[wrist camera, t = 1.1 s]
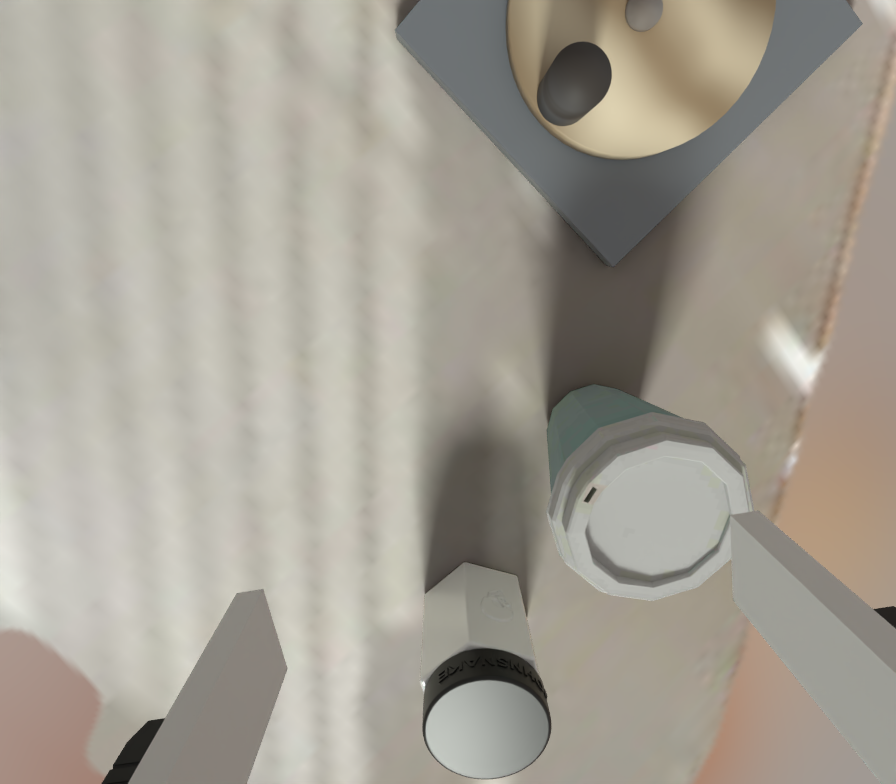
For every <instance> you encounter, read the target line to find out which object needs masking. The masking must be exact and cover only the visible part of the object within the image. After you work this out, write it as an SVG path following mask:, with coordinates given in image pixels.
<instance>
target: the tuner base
mask: <svg viewBox="0 0 896 784" xmlns="http://www.w3.org/2000/svg"><path fill="white" fill-rule="evenodd" d="M507 5H508V0H420V1H419V2H418V3H417V4H416V5H415V7H414V8H413V9H412V10H411V11H410V13H409V14H408V15H407V16H406V17H405V19H404V20H403V21H402V22H401V23H400V25H399V26H398V27H397V28H396V29H395V33H396V37H397V40H398V41H399V42H400V43H401V44H402V45H403V46H404V47H405V48H406V49H407V50H408V51H409V52H410V54H411V55H412V56H413V57H414V58H415V59H416V60H417V61H418V62H419V63H420V64H421V65H422V67H423V68H424V69H425V70H426V71H427V72H428V73H429V74H430V75H431V76H432V77H433V78H434V79H435V81H436V82H437V83H438V84H439V85H440V86H441V87H442V88H443V89H444V90H445V91H446V92H447V93H448V95H449V96H450V97H451V98H452V99H453V100H454V101H455V102H456V103H457V104H458V105H459V106H460V108H461V109H462V110H463V111H464V112H465V113H466V114H467V115H468V116H469V117H470V118H471V119H472V120H473V122H474V123H475V124H476V125H477V126H478V127H479V128H480V129H481V130H482V131H483V132H484V133H485V135H486V136H487V137H488V138H489V139H490V140H491V141H492V142H493V143H494V144H495V145H496V146H497V147H498V149H499V150H500V151H501V152H502V153H503V154H504V155H505V156H506V157H507V158H508V159H509V160H510V161H511V163H512V164H513V165H514V166H515V167H516V168H517V169H518V170H519V171H520V172H521V173H522V174H523V176H524V177H525V178H526V179H527V180H528V181H529V182H530V183H531V184H532V185H533V186H534V187H535V188H536V190H537V191H538V192H539V193H540V194H541V195H542V196H543V197H544V198H545V199H546V200H547V201H548V203H549V204H550V205H551V206H552V207H553V208H554V209H555V210H556V211H557V212H558V213H559V214H560V215H561V217H562V218H563V219H564V220H565V221H566V222H567V223H568V224H569V225H570V226H571V227H572V228H573V229H574V231H575V232H576V233H577V234H578V235H579V236H580V237H581V238H582V239H583V240H584V241H585V242H586V244H587V245H588V246H589V247H590V248H591V249H592V250H593V251H594V252H595V253H596V254H597V255H598V256H599V258H600V259H601V260H602V261H603V262H604V263H605V264H606V265H607V266H611V267H614V266H615V265H616V264H617V263H618V262H619V261H620V260H621V259H622V258H623V257H624V256H625V255H627V254H628V253H629V252H630V251H631V250H632V249H633V248H634V247H635V246H636V245H637V244H638V243H639V242H640V241H641V240H642V239H643V238H644V237H645V236H646V235H647V234H648V233H649V232H650V231H651V230H652V229H653V228H654V227H655V226H656V225H657V224H658V223H659V222H660V221H661V220H662V219H663V218H664V217H665V216H666V215H668V214H669V213H670V212H671V211H672V210H673V209H674V208H675V207H676V206H677V205H678V204H679V203H680V202H681V201H682V200H683V199H684V198H685V197H686V196H687V195H688V194H689V193H690V192H691V191H692V190H693V189H694V188H695V187H696V186H697V185H698V184H699V183H700V182H701V181H702V180H703V179H704V178H705V177H706V176H707V175H708V174H710V173H711V172H712V171H713V170H714V169H715V168H716V167H717V166H718V165H719V164H720V163H721V162H722V161H723V160H724V159H725V158H726V157H727V156H728V155H729V154H730V153H731V152H732V151H733V150H734V149H735V148H736V147H737V146H738V145H739V144H740V143H741V142H742V141H743V140H744V139H745V138H746V137H747V136H748V135H749V134H750V133H752V132H753V131H754V130H755V129H756V128H757V127H758V126H759V125H760V124H761V123H762V122H763V121H764V120H765V119H766V118H767V117H768V116H769V115H770V114H771V113H772V112H773V111H774V110H775V109H776V108H777V107H778V106H779V105H780V104H781V103H782V102H783V101H784V100H785V99H786V98H787V97H788V96H789V95H790V94H791V93H792V92H794V91H795V90H796V89H797V88H798V87H799V86H800V85H801V84H802V83H803V82H804V81H805V80H806V79H807V78H808V77H809V76H810V75H811V74H812V73H813V72H814V71H815V70H816V69H817V68H818V67H819V66H820V65H821V64H822V63H823V62H824V61H825V60H826V59H827V58H828V57H829V56H830V55H831V54H832V53H833V52H835V51H836V50H837V49H838V48H839V47H840V46H841V45H842V44H843V43H844V42H845V41H846V40H847V39H848V38H849V37H850V36H851V35H852V34H853V33H854V32H855V31H856V30H857V29H858V28H859V27H860V26H861V25H862V24H863V23H862V22H861V21H860V19H859V18H858V16H857V15H856V14H855V12H854V11H853V9H852V8H851V7H850V5H849V4H848V2H847V1H846V0H776V9H775V15H774V20H773V26H772V31H771V34H770V37H769V41H768V44H767V47H766V50H765V53H764V55H763V57H762V60H761V62H760V65H759V67H758V69H757V71H756V72H755V74H754V76H753V78H752V80H751V81H750V83H749V85H748V86H747V88H746V89H745V90H744V92H743V93H742V95H741V96H740V97H739V99H738V100H737V101H736V102H735V104H734V105H733V106H732V107H731V108H730V109H729V110H728V111H727V112H726V114H725V115H723V116H722V117H721V118H720V119H719V120H718V121H717V122H716V123H714V124H713V125H712V126H711V127H709V128H708V129H707V130H705V131H704V132H702V133H701V134H699V135H698V136H696V137H695V138H693V139H691V140H689V141H687V142H685V143H683V144H681V145H679V146H676V147H674V148H671V149H669V150H666V151H663V152H661V153H658V154H655V155H652V156H648V157H643V158H639V159H629V160H612V159H603V158H598V157H593V156H590V155H587V154H584V153H581V152H579V151H576V150H574V149H573V148H571V147H569V146H567V145H565V144H563V143H562V142H561V141H559V140H558V139H557V138H555V137H554V136H552V135H551V134H550V133H549V132H548V131H547V130H546V129H545V128H544V127H543V126H542V125H541V124H540V123H539V122H538V121H537V119H536V118H535V117H534V116H533V114H532V113H531V112H530V110H529V109H528V107H527V105H526V104H525V102H524V100H523V98H522V97H521V95H520V92H519V90H518V88H517V85H516V83H515V81H514V77H513V74H512V71H511V67H510V64H509V58H508V52H507V46H506V14H507Z"/></svg>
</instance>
